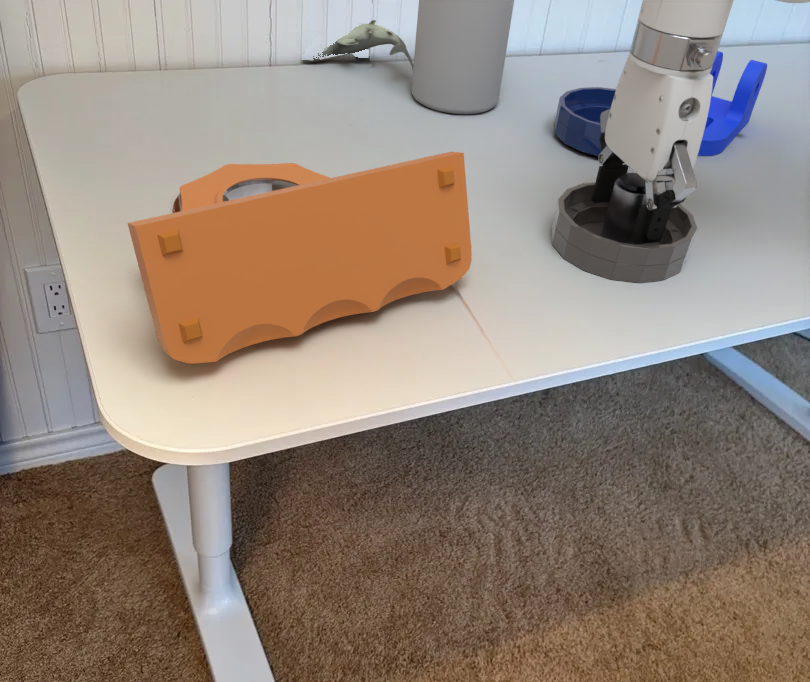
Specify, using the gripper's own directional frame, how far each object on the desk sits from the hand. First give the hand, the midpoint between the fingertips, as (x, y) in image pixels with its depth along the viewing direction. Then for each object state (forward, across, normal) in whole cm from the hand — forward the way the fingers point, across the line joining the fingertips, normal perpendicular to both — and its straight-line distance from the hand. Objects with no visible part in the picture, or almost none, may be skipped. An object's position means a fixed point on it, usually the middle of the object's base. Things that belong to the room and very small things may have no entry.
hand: (624, 220), depth 86 cm
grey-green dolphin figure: (-2, +56, +15) cm, 58 cm away
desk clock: (-4, -8, +34) cm, 35 cm away
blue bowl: (+4, +27, -13) cm, 30 cm away
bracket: (+4, +28, -29) cm, 40 cm away
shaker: (+3, 0, 0) cm, 3 cm away
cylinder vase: (+4, +43, +3) cm, 43 cm away
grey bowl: (+4, 0, 0) cm, 4 cm away
